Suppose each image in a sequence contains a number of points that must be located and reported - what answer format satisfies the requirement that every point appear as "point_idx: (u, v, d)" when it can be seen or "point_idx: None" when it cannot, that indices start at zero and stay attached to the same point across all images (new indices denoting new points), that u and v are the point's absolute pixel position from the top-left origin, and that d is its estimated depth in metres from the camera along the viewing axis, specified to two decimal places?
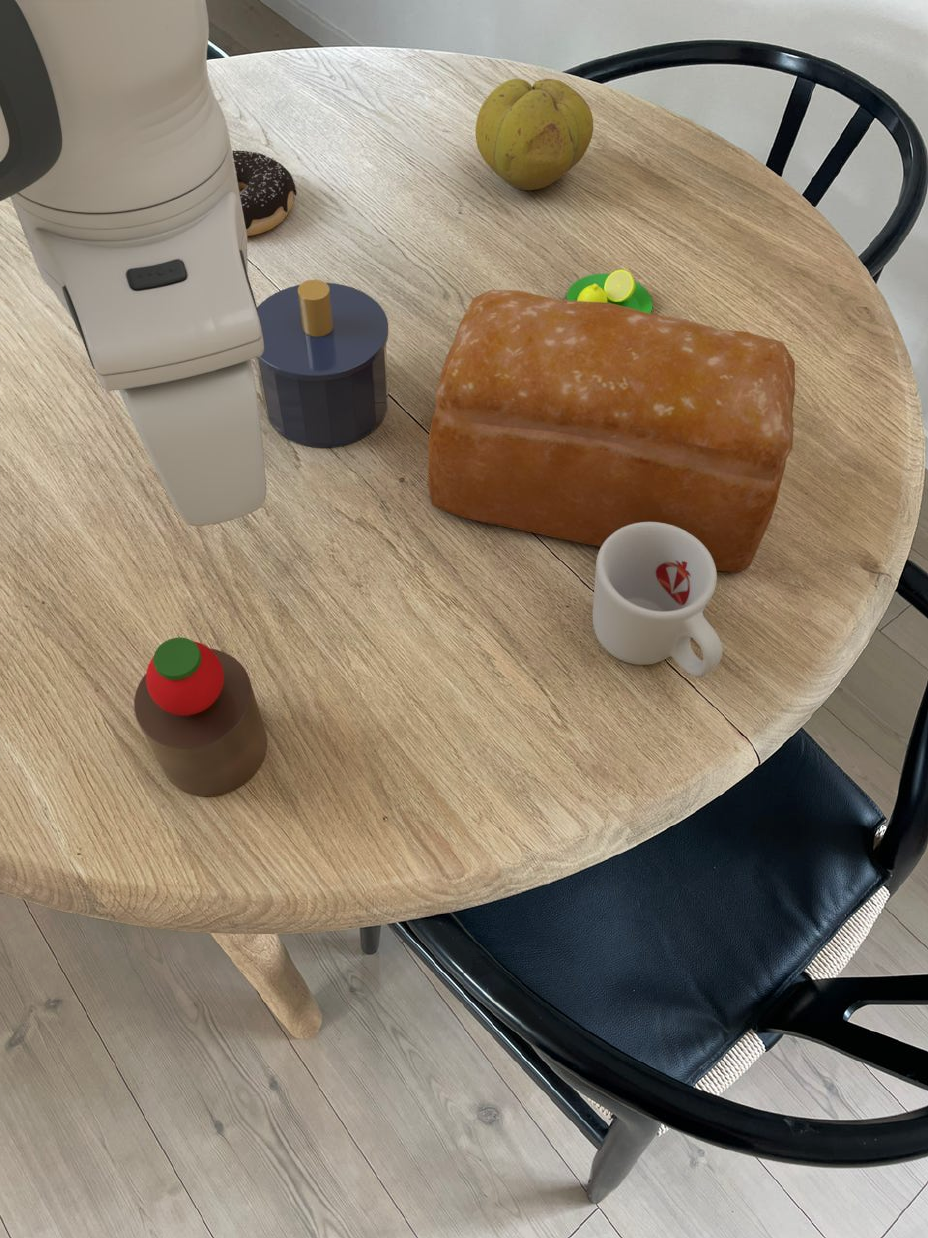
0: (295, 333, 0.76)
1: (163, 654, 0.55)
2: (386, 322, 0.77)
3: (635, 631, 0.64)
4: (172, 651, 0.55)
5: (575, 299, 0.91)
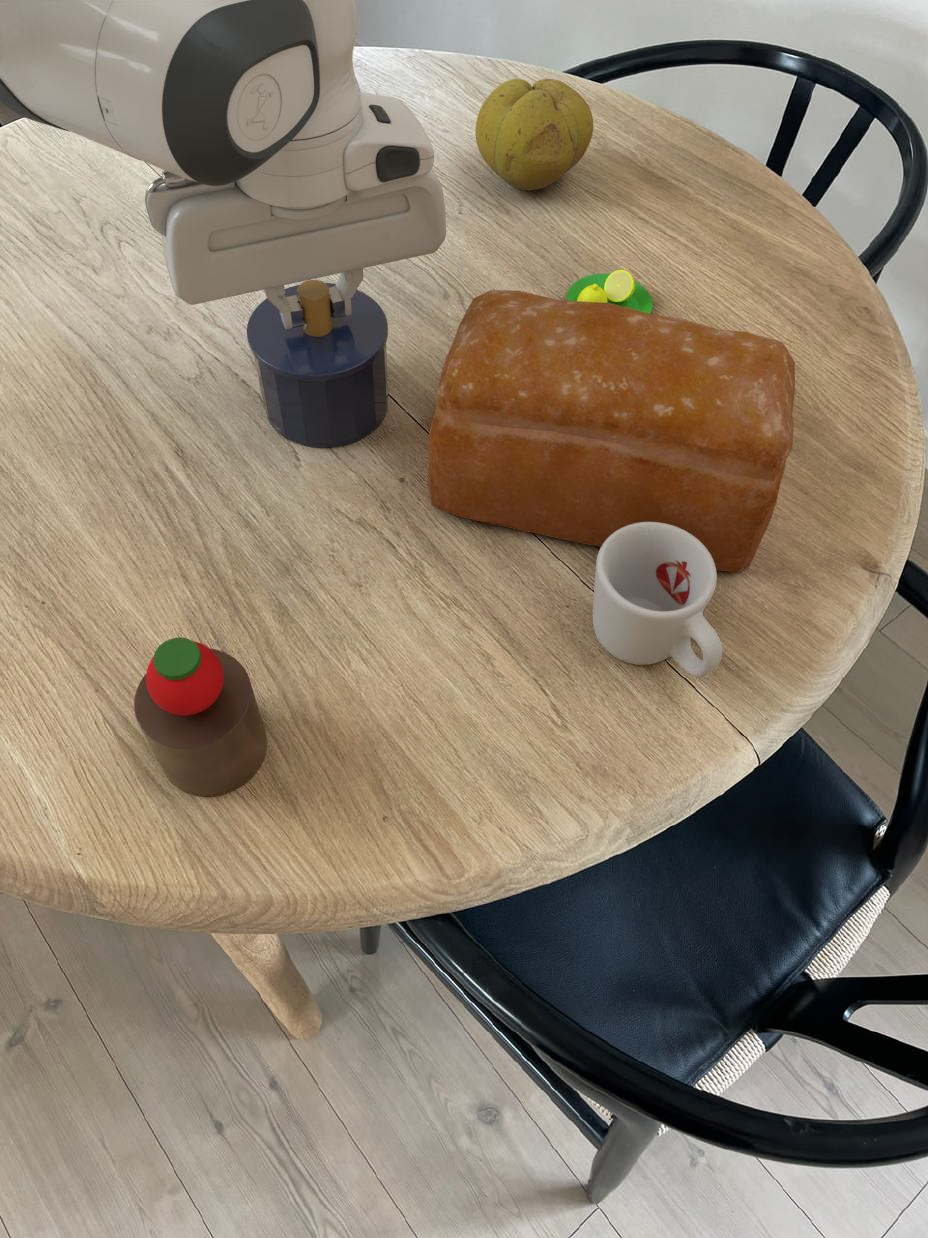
0: (295, 333, 0.76)
1: (163, 654, 0.55)
2: (386, 322, 0.77)
3: (635, 631, 0.64)
4: (172, 651, 0.55)
5: (575, 299, 0.91)
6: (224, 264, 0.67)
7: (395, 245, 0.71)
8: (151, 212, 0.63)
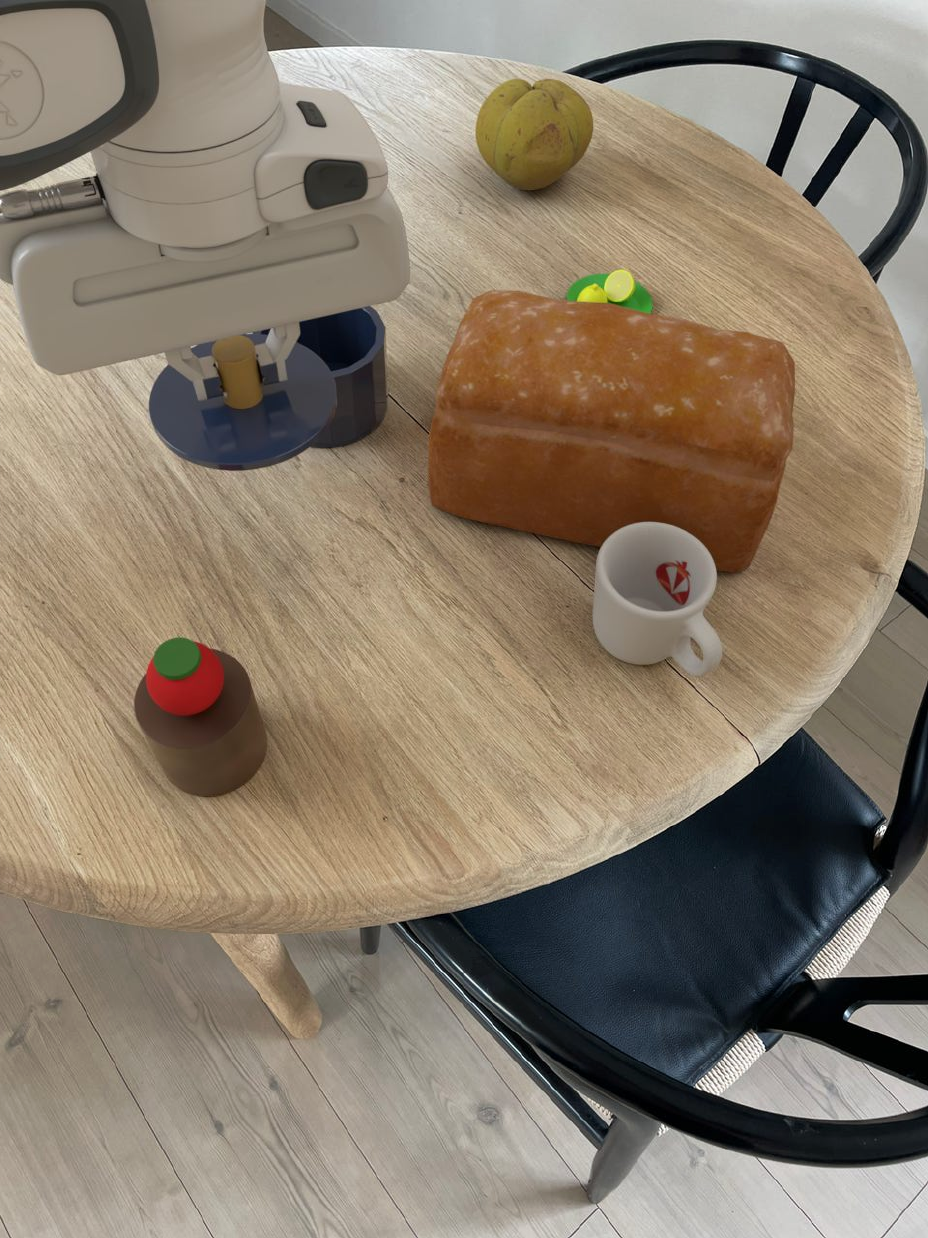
0: (212, 404, 0.57)
1: (163, 654, 0.55)
2: (334, 388, 0.58)
3: (635, 631, 0.64)
4: (172, 651, 0.55)
5: (575, 299, 0.91)
6: (99, 322, 0.48)
7: (341, 291, 0.52)
8: None
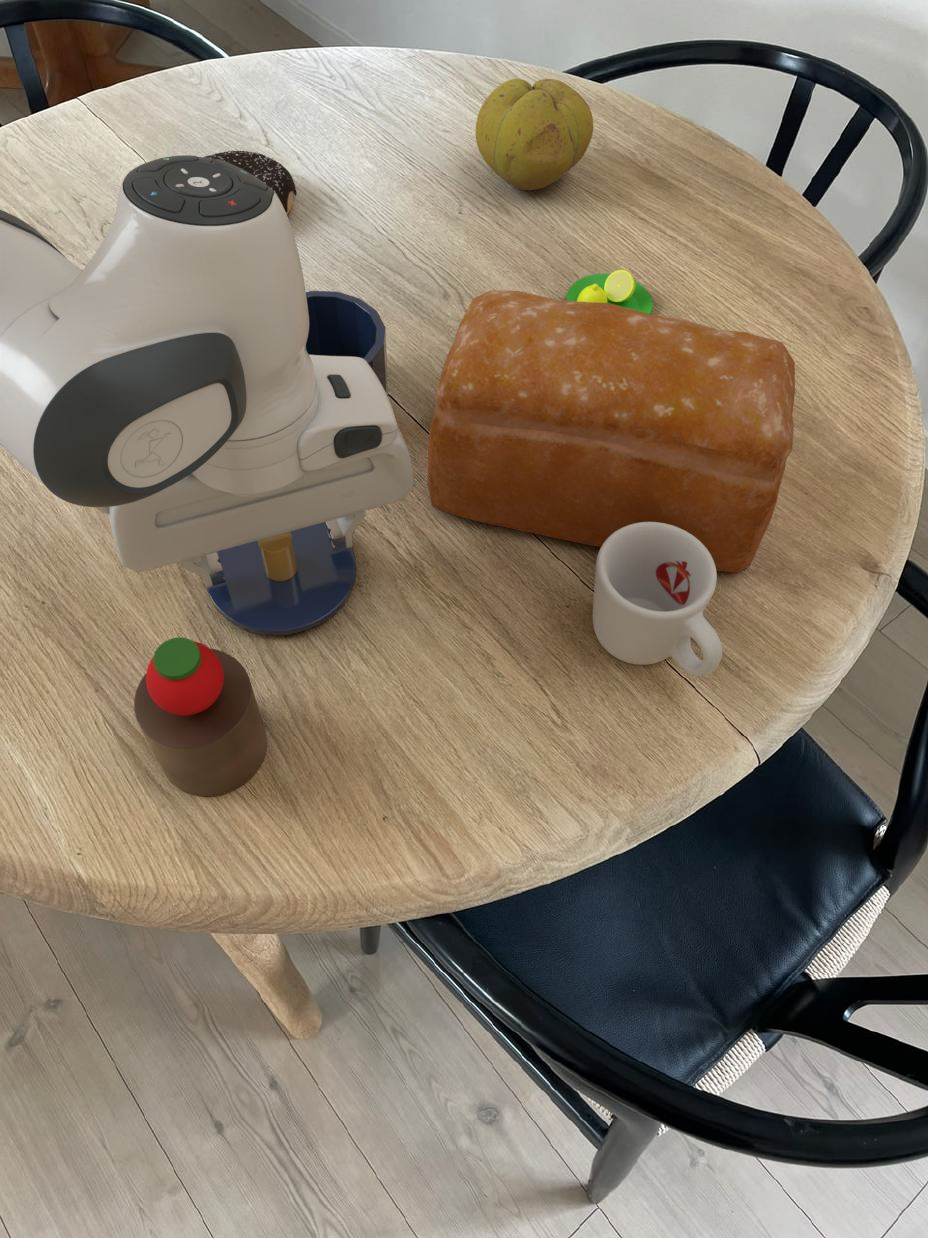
0: (256, 577, 0.71)
1: (163, 654, 0.55)
2: (354, 562, 0.72)
3: (635, 631, 0.64)
4: (172, 651, 0.55)
5: (575, 299, 0.91)
6: (173, 536, 0.62)
7: (360, 500, 0.66)
8: None
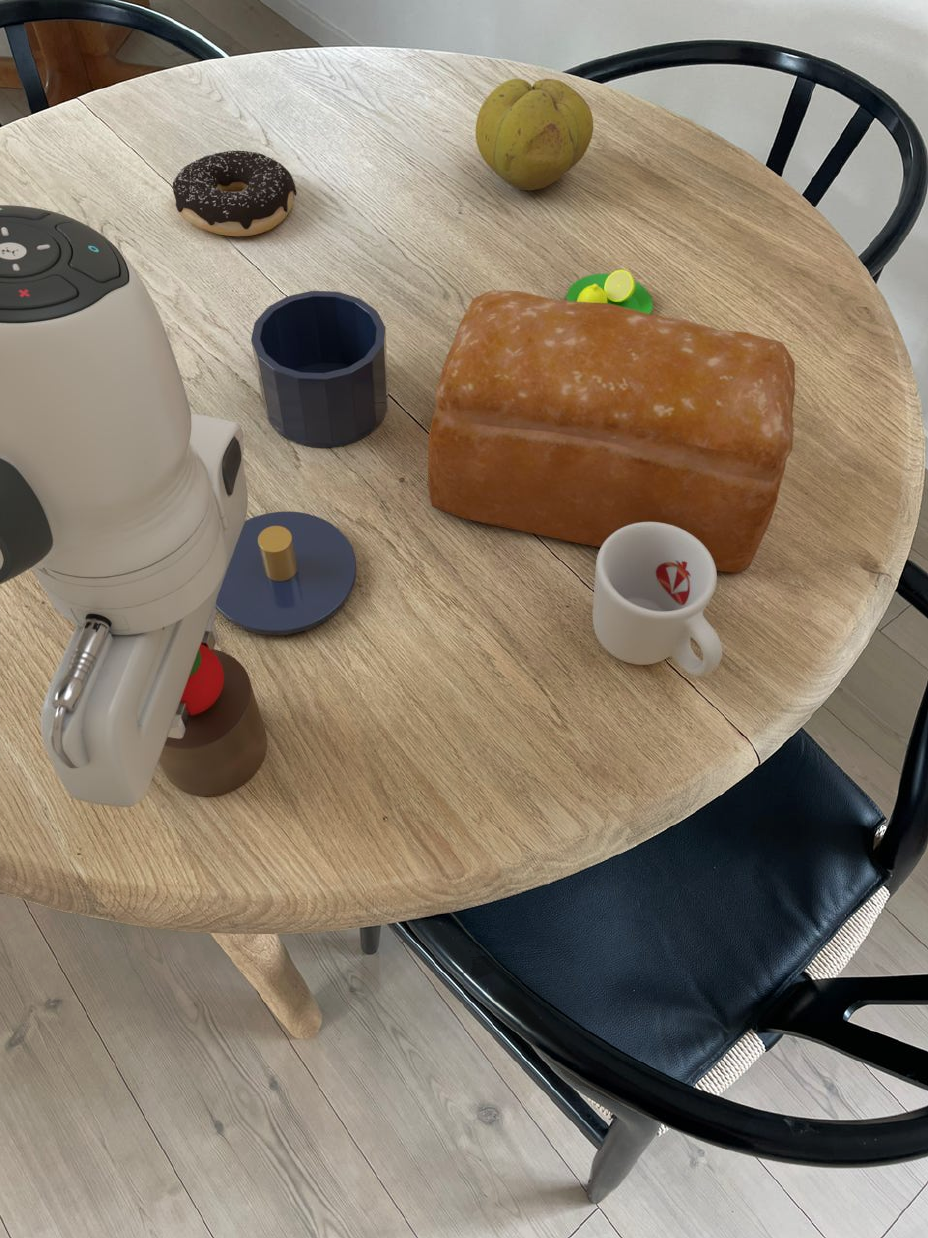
0: (256, 577, 0.71)
1: None
2: (354, 562, 0.72)
3: (635, 631, 0.64)
4: None
5: (575, 299, 0.91)
6: (152, 724, 0.48)
7: (228, 545, 0.56)
8: (72, 755, 0.43)
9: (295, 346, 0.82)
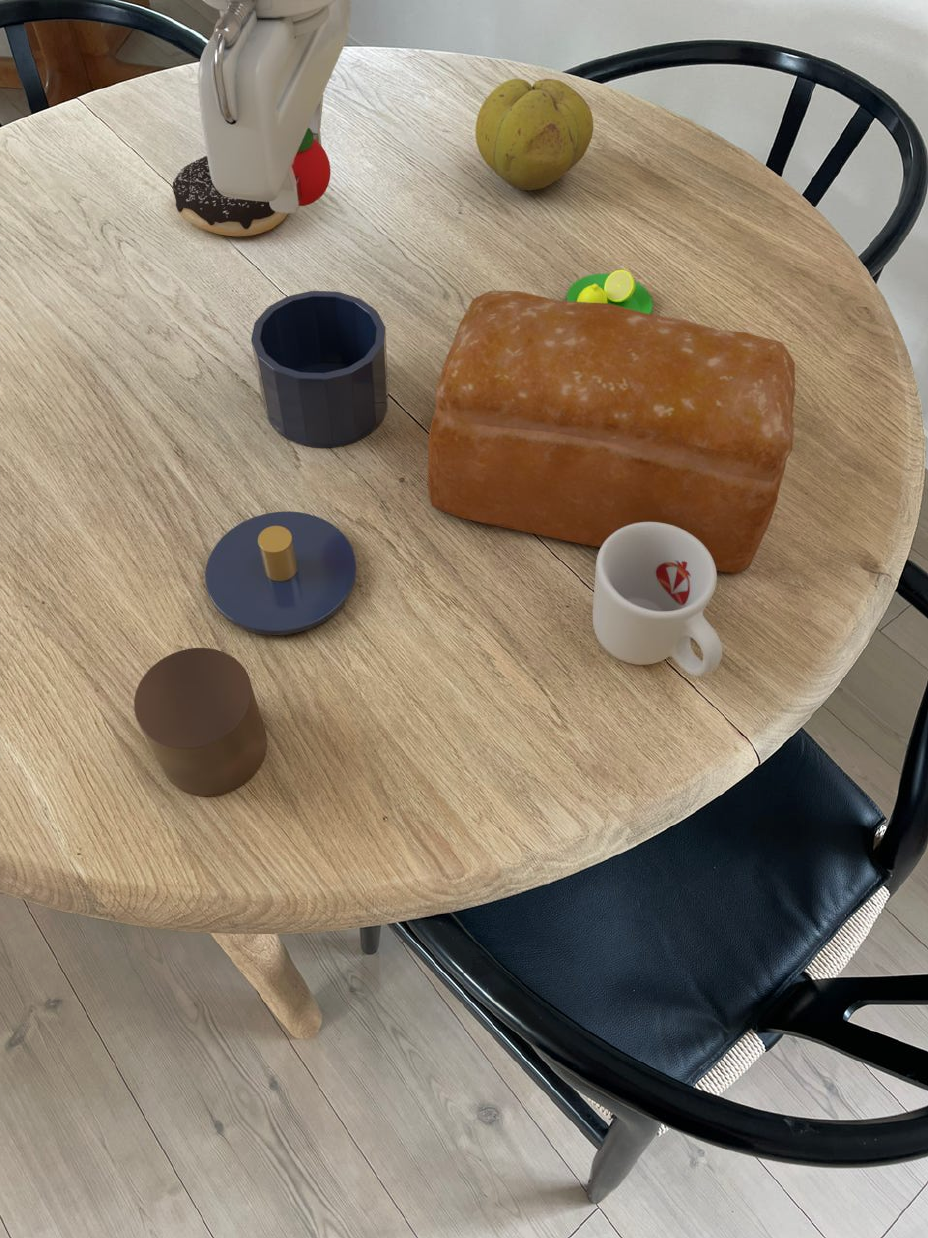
0: (256, 577, 0.71)
1: None
2: (354, 562, 0.72)
3: (635, 631, 0.64)
4: None
5: (575, 299, 0.91)
6: (284, 125, 0.55)
7: (336, 41, 0.63)
8: (229, 89, 0.49)
9: (295, 346, 0.82)
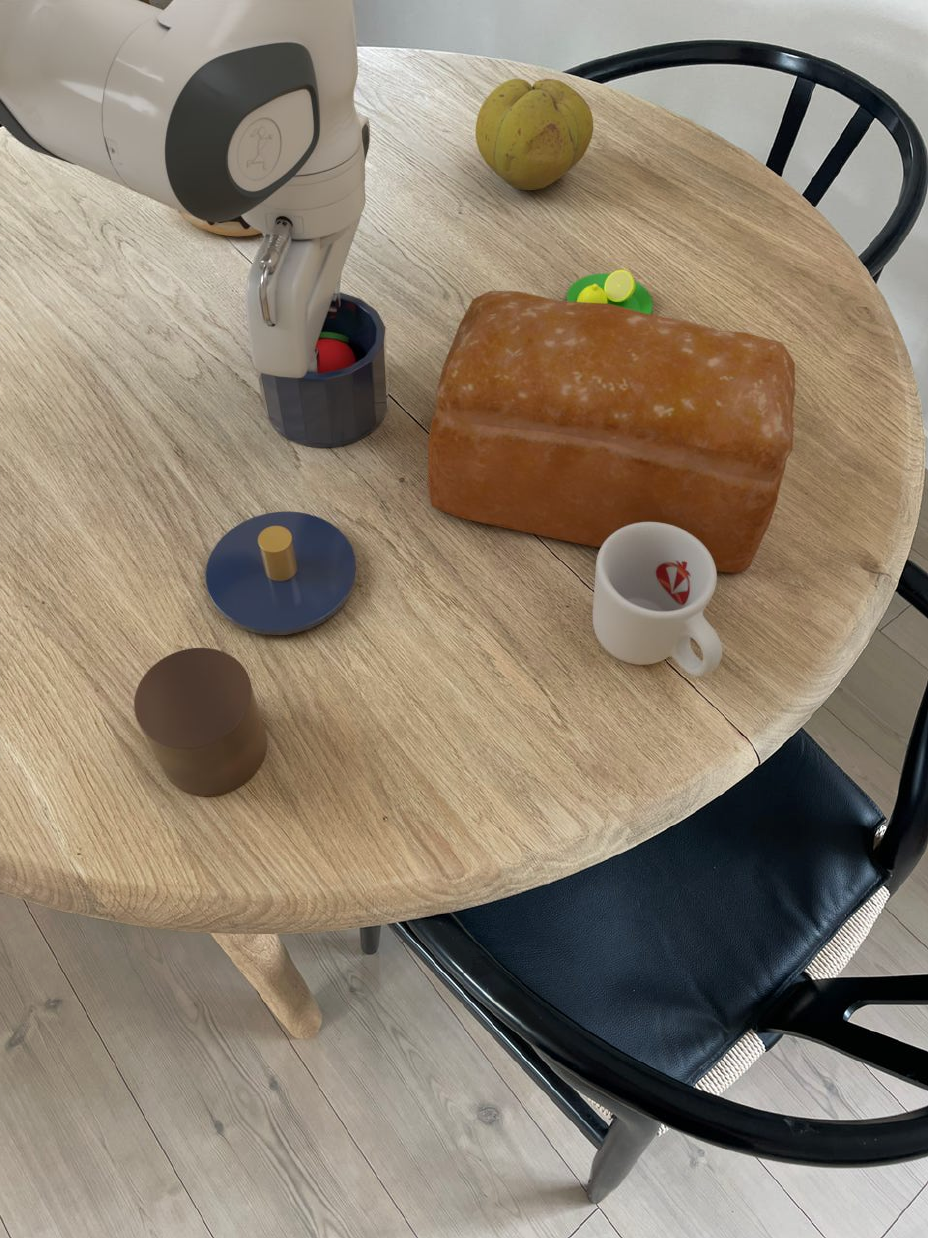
0: (256, 577, 0.71)
1: None
2: (354, 562, 0.72)
3: (635, 631, 0.64)
4: None
5: (575, 299, 0.91)
6: (312, 318, 0.67)
7: (351, 228, 0.75)
8: (271, 305, 0.62)
9: None
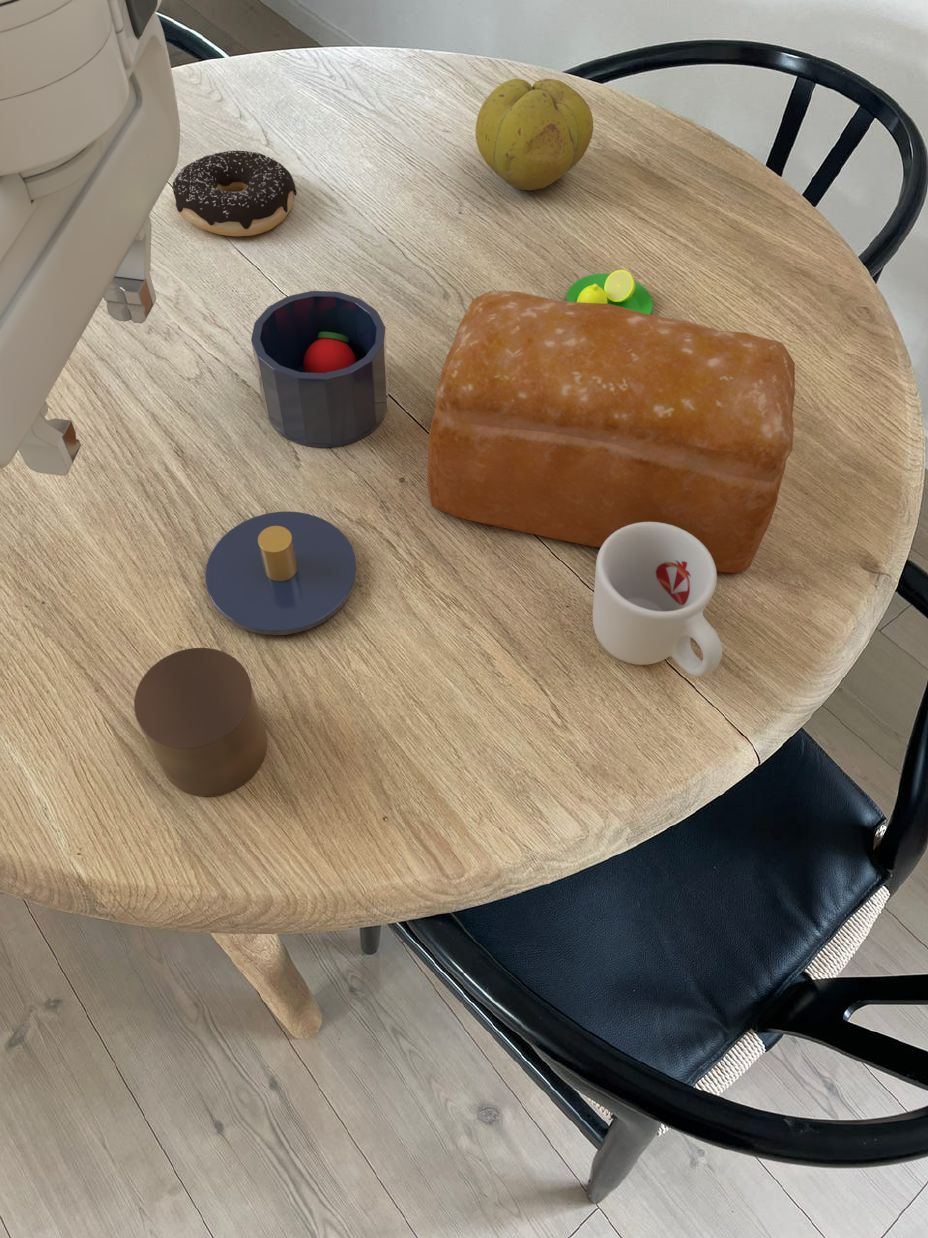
0: (256, 577, 0.71)
1: None
2: (354, 562, 0.72)
3: (635, 631, 0.64)
4: None
5: (575, 299, 0.91)
6: (16, 348, 0.32)
7: (149, 174, 0.40)
8: None
9: (295, 346, 0.82)
